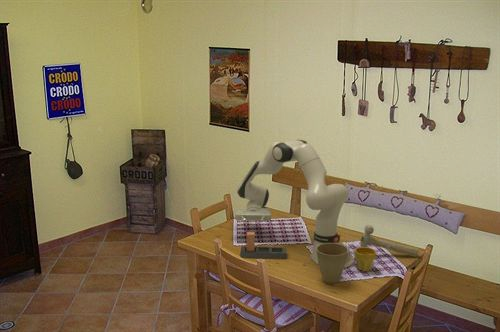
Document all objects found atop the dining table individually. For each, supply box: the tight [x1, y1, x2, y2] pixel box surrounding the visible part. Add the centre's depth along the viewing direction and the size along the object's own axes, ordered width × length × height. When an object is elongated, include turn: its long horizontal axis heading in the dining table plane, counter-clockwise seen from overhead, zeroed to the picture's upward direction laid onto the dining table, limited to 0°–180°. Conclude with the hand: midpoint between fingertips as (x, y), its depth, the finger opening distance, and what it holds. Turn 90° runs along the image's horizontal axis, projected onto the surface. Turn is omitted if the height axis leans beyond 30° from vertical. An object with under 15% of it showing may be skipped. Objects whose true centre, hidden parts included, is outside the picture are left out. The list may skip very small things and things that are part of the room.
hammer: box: [359, 224, 420, 258], centre depth 287 cm, size 16×5×30 cm
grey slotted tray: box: [240, 245, 288, 260], centre depth 286 cm, size 24×8×3 cm, turn 88°
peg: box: [246, 231, 256, 252], centre depth 285 cm, size 4×4×12 cm
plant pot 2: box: [354, 246, 377, 272], centre depth 271 cm, size 10×10×10 cm
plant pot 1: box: [316, 243, 349, 284], centre depth 258 cm, size 15×15×16 cm
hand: (252, 220), depth 297 cm, fingers open, 8 cm apart
